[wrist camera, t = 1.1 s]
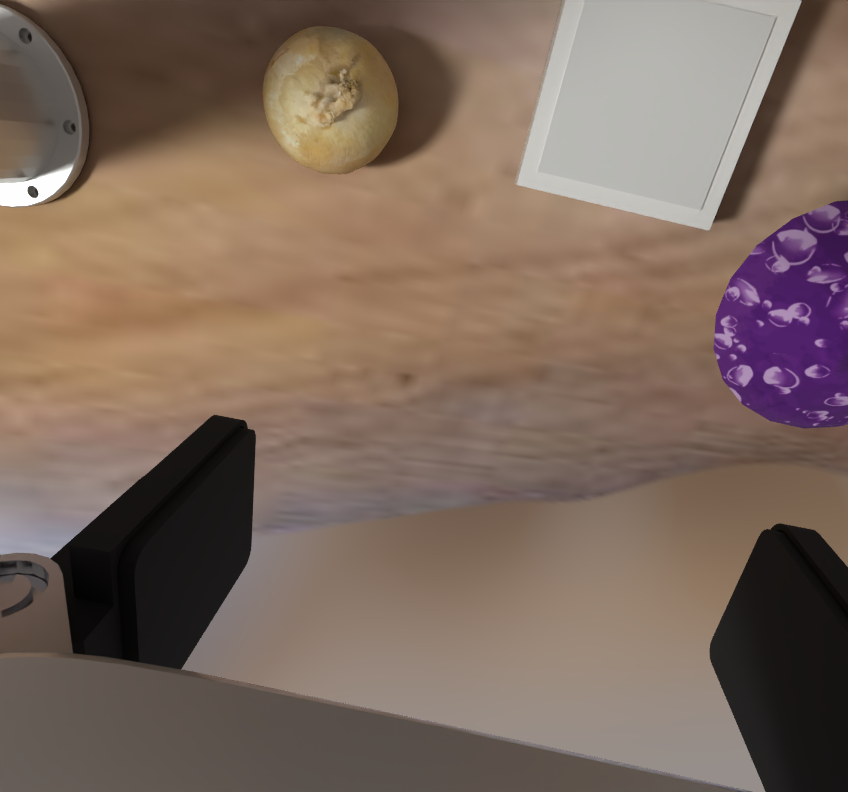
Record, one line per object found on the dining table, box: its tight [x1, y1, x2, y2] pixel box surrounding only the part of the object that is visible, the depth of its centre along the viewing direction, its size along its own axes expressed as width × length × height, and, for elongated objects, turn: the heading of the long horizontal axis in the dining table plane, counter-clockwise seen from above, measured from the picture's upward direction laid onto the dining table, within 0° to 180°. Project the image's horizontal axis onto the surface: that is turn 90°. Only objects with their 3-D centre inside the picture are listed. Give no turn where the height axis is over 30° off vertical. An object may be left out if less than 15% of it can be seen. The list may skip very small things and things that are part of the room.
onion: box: [263, 26, 399, 174], centre depth 34 cm, size 8×8×7 cm
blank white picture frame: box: [515, 0, 802, 230], centre depth 34 cm, size 12×12×3 cm
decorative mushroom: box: [714, 201, 848, 428], centre depth 32 cm, size 12×12×15 cm
